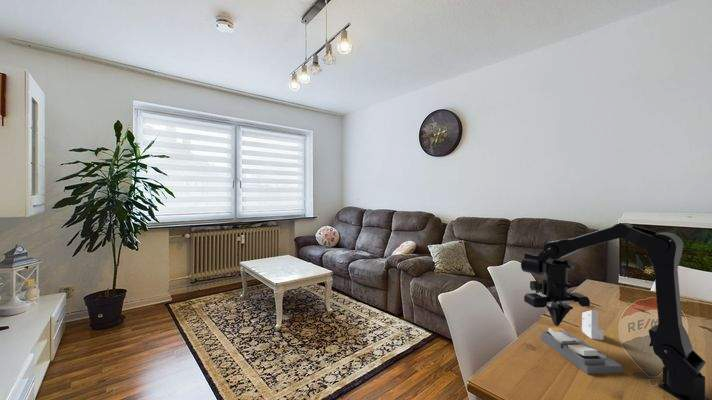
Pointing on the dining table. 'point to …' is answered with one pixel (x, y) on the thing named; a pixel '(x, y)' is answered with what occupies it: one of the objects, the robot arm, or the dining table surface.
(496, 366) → the dining table surface
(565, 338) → the far rocker
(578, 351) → the near rocker
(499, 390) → the dining table surface
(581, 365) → the grey stepped stand
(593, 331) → the white wedge bracket
